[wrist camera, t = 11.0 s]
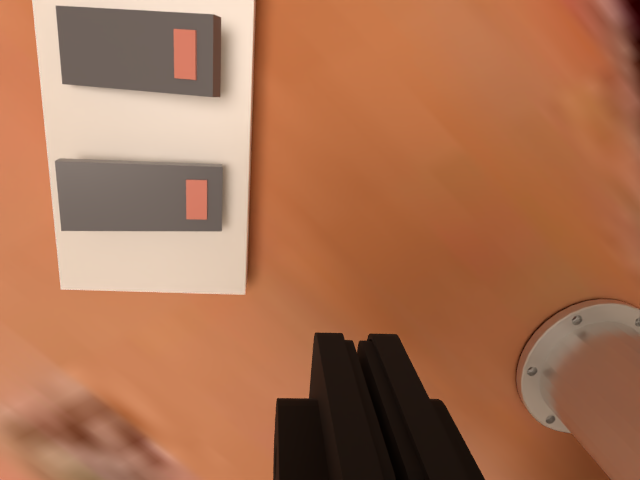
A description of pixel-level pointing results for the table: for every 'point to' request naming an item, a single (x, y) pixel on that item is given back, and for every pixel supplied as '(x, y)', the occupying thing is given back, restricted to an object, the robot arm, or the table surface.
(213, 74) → the rocker
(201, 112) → the rocker switch panel
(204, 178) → the rocker
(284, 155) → the table surface
